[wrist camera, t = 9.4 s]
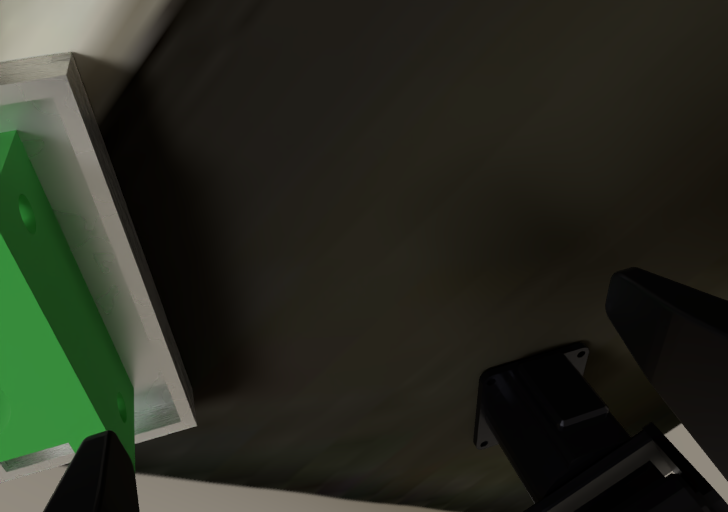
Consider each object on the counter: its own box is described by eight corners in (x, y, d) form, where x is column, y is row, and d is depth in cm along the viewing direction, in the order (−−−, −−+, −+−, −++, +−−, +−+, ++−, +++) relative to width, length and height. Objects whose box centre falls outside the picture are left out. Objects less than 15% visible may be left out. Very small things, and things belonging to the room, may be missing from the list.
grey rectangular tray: (192, 389, 25) (196, 425, 24) (5, 441, 24) (-3, 483, 22) (71, 52, 17) (65, 75, 15) (-240, 98, 15) (-281, 128, 13)
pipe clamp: (-132, 153, 16) (-207, 245, 12) (17, 127, 17) (-13, 207, 13) (34, 416, 22) (16, 525, 19) (134, 389, 23) (135, 488, 20)
